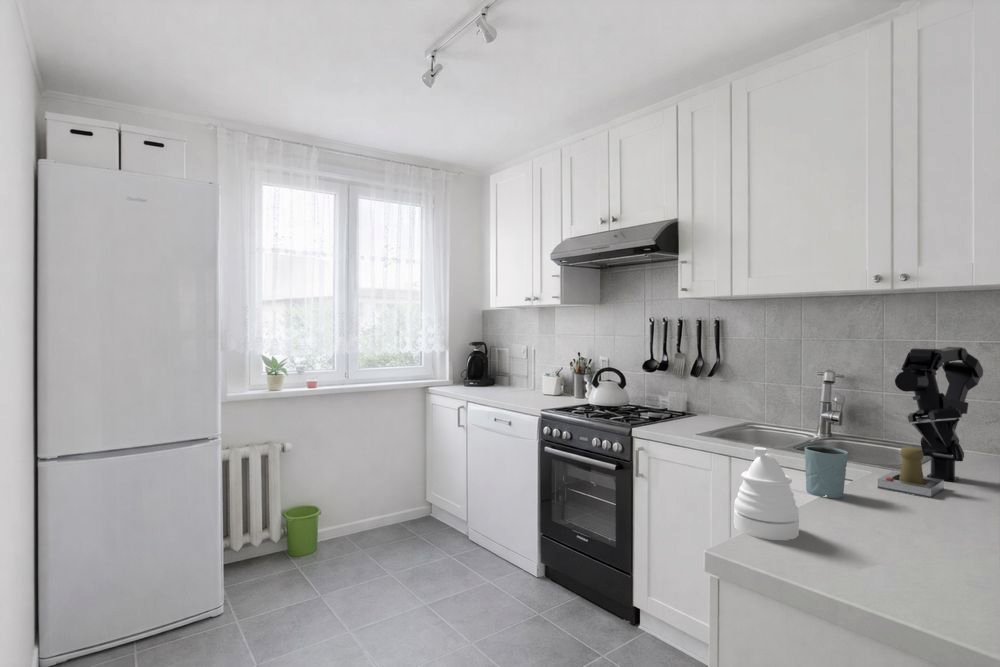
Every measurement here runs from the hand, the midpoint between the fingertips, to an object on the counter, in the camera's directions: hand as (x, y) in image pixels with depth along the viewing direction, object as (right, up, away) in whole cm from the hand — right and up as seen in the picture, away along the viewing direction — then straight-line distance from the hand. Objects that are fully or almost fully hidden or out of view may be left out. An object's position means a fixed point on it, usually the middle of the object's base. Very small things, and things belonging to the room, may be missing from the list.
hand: (940, 446), depth 153 cm
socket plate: (-9, -12, -1) cm, 15 cm away
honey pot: (-67, -11, -34) cm, 76 cm away
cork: (-9, -11, -1) cm, 15 cm away
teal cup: (-37, -12, -7) cm, 39 cm away
